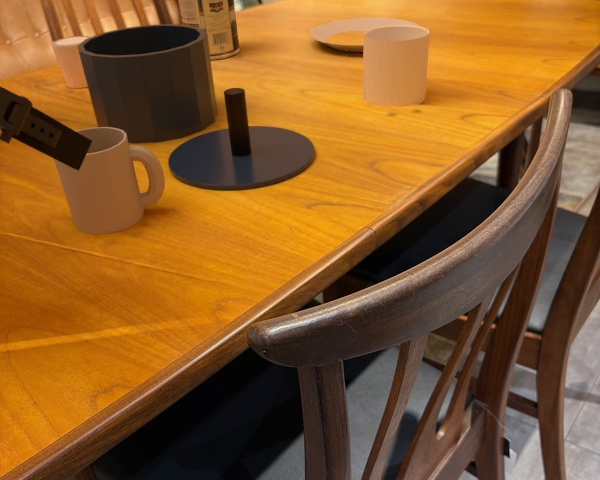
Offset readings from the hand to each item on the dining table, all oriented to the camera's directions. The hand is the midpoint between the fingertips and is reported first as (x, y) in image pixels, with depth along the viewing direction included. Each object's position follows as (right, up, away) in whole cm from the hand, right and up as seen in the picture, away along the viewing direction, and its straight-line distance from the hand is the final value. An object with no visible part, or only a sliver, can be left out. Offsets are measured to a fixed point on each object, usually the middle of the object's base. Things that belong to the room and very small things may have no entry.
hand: (39, 138), depth 54 cm
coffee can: (+7, +33, +63) cm, 71 cm away
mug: (+38, +16, +37) cm, 55 cm away
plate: (+36, +35, +63) cm, 80 cm away
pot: (+3, +11, +33) cm, 35 cm away
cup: (+5, -6, +11) cm, 13 cm away
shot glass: (-14, +23, +52) cm, 58 cm away
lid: (+16, +3, +21) cm, 26 cm away
